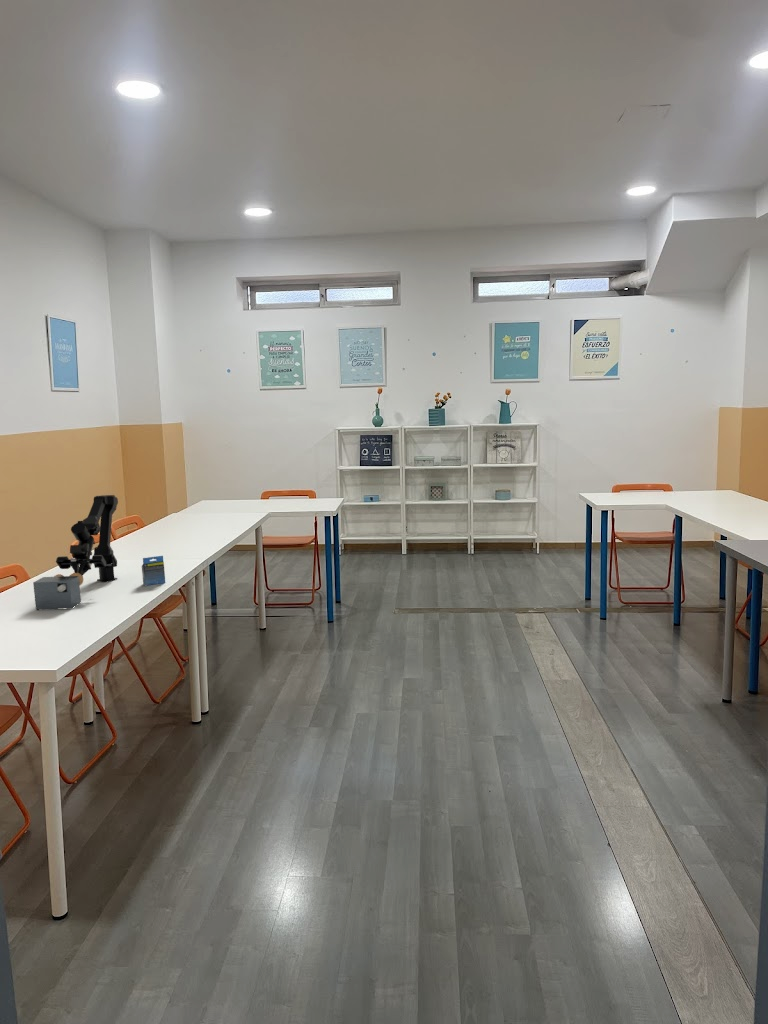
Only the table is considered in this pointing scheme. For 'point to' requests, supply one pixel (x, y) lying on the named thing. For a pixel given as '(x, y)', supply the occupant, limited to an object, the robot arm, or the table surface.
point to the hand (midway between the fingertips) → (76, 579)
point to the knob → (64, 586)
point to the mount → (57, 592)
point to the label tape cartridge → (153, 570)
